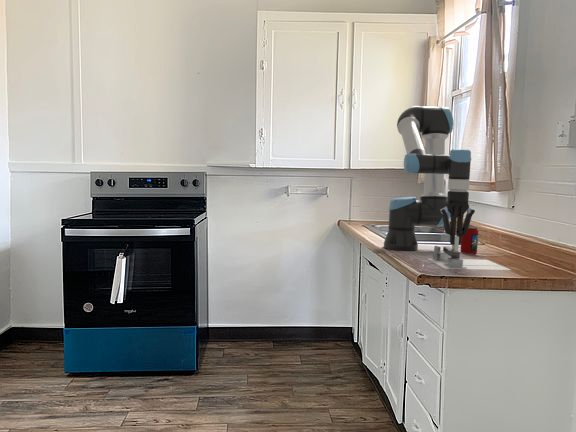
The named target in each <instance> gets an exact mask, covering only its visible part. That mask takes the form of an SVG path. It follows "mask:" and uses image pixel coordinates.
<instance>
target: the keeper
mask: <svg viewBox="0 0 576 432" xmlns="http://www.w3.org/2000/svg"><path fill="white" fill-rule="evenodd" d="M448 257H450V256H449V255H448V254H446V253H445V252H444V251H441V246H438V245H434V248H433V252H432V259H434V260H436V261H448Z"/></svg>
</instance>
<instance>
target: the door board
mask: <svg viewBox="0 0 576 432" xmlns="http://www.w3.org/2000/svg"><path fill="white" fill-rule="evenodd" d="M462 259H463V266H465V267H467V268H466V269H465V268H449V267H447V266H445V265H444V264H448V261H436V260H434V259H433V258H428V260H429V261H431V262H433V263H434V264H435V265H438V266H440V267H441V268H443V269H445V270H480V271H481V270H484V271H486V270H488V271H489V270H492V271H499V270H500V271H511V269H510V268H507V267H505V266H503V265H500V264H498V263H495V262H494V261H490V260H488V259H474V258H473V259H471V258H470V259H469V258H468V259H467V258H466V259H465V258H462Z"/></svg>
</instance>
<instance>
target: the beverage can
mask: <svg viewBox="0 0 576 432" xmlns="http://www.w3.org/2000/svg"><path fill="white" fill-rule="evenodd" d="M478 241H479V229H478V227H477V226H472V225H471V226H470V225H469V227H468V231H467V234H466V235H463V236H462V237H461V244H460V251H459V252H460V253H463V254H471V255H477V254H478Z"/></svg>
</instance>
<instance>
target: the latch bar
mask: <svg viewBox="0 0 576 432" xmlns="http://www.w3.org/2000/svg"><path fill="white" fill-rule="evenodd" d="M442 252H445V253H446V254H448V255H449V257H450V258H461V252H460V251H459V250H458V251H455V250H453V249H452V247H450V246H443V247H442Z"/></svg>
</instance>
